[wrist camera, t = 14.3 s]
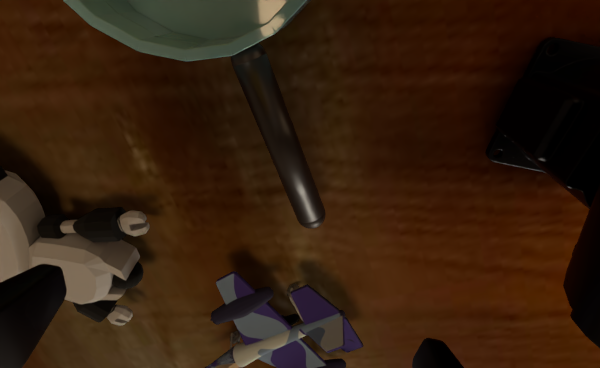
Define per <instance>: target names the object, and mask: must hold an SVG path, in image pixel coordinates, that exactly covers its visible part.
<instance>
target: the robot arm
mask: <svg viewBox="0 0 600 368" xmlns="http://www.w3.org/2000/svg"><path fill="white" fill-rule="evenodd" d="M552 44H554V50H553V51H552V52H551V53H549V54H548V53H547V50H548V48H549V46H550V45H552ZM496 126H497V130H496V132H495V134H494V135H493V137H492V139H491V141H490V143H489V145H488V147H487V150H486V156H487V157H488V158H489V159H490V160H491V161H493V162H497V163H502V164H507V165H511V166H516V167H521V168H526V169H531V170H535V171H540V172H545V173H547V174H548V175H549V176H551V177H552V178H553V179H554V180H555V181H557V182H558V183H559V184H560V185H561V186H563V187H564V188H565V189H566V190H567V191H569V192H570V193H571V194H572V195H573V196H575V197H576V198H577V199H578V200H579V201H581V202H582V203H583V204H584V205H585V206H586V207H588V208H589V209H590V210H589V213H588V215H587V218H586V221H585V223H584V226H583V229H582V231H581V234H580V237H579V239H578V242H577V244H576V245H575V248H574V250H573V253H572V258H571V260H570V263H569V266H568V268H567V271H566V276H565V280H564V284H563V286H564V289H565V292H566V295H567V298H568V301H569V304H570V306H571V308H572V309H573V310H572V312H571V318H572V320H573V321H574V322H575V323H576V324H577V326H578V327H579V328H580V329H581V331H582V332H583V333H584V334H585V335H586V336H587V337H588V338H589V339H590V340H591V341H592V342H593V343H595V344H596V345H597V346H598V347H599V348H600V47H597V46H592V45H588V44H583V43H578V42H574V41H569V40H564V39H560V38H555V37H550V38H547V39H545V40H544V41H542V42H541V43H540V45H539V46H538V48H537V50H536V52H535V54H534V56H533V58H532V60H531V62H530V64H529V66H528V68H527V70H526V72H525V74H524V76H523V78H521V79H519V80H518V82H517V84H516V86H515V88H514V90H513V92H512V94H511V96H510V98H509V100H508V102H507V104H506V106H505V108H504V110H503V112H502V114H501V116H500V118H499V120H498V122H497V124H496ZM496 150H500V152H499V153H498V154H497V155H493V154H494V152H495V151H496ZM66 293H67V288H66V283H65V279H64V275H63V270H62V269H61V267H59V266H55V265H50V264H39V265H37V266H35V267H33V268H30V269H28V270H26V271H24V272H22V273H20V274H17V275H15V276H13V277H11V278H9V279H7V280H4V281H2V282H0V368H22V367H23V365H24V364H25V362H26V361H27V360H28V358H29V356H30V355H31V353H32V352H33V350H34V349H35V347H36V345H37V344H38V342H39V340H40V339H41V337H42V335H43V334H44V332H45V331H46V329H47V327H48V326H49V324H50V322H51V321H52V319H53V317H54V316H55V314H56V312H57V311H58V309H59V307H60V306H61V304H62V303H63V301H64V299H65V297H66ZM412 368H464V367H463V366H462V365H461V363H460V362H459V361H458V359H457V358H456V357H455V356H454V354H453V353H452V352H451V350H450V349H449V348H448V347H447V345H446V344H445V343H444V342H443V341H441V340H437V339H432V338H426V339H424V340H423V342H422V344H421V345H420V347H419V349H418V351H417V352H416V354H415V356H414V358H413V364H412Z"/></svg>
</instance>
